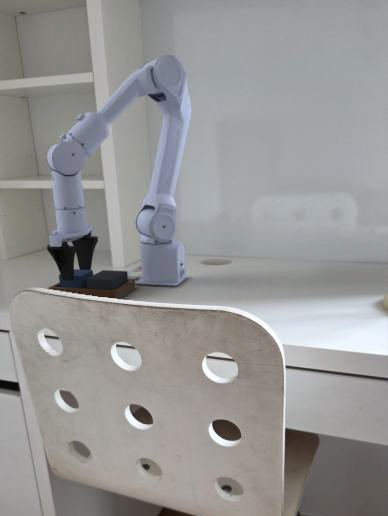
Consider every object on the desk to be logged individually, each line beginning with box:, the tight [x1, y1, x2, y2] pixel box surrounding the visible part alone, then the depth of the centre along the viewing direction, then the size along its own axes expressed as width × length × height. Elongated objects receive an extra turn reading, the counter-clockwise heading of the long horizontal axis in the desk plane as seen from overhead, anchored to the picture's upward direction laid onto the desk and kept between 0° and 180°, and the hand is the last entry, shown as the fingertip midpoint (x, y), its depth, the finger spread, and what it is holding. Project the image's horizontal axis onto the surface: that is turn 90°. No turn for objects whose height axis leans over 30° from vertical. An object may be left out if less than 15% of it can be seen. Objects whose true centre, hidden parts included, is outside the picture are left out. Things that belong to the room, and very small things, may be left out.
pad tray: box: [48, 279, 136, 300], centre depth 108 cm, size 15×10×2 cm
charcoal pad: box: [86, 269, 128, 290], centre depth 107 cm, size 6×8×3 cm
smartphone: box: [127, 265, 142, 280], centre depth 125 cm, size 7×1×15 cm
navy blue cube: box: [58, 268, 94, 289], centre depth 108 cm, size 5×5×4 cm
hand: (77, 275), depth 108 cm, fingers open, 7 cm apart
